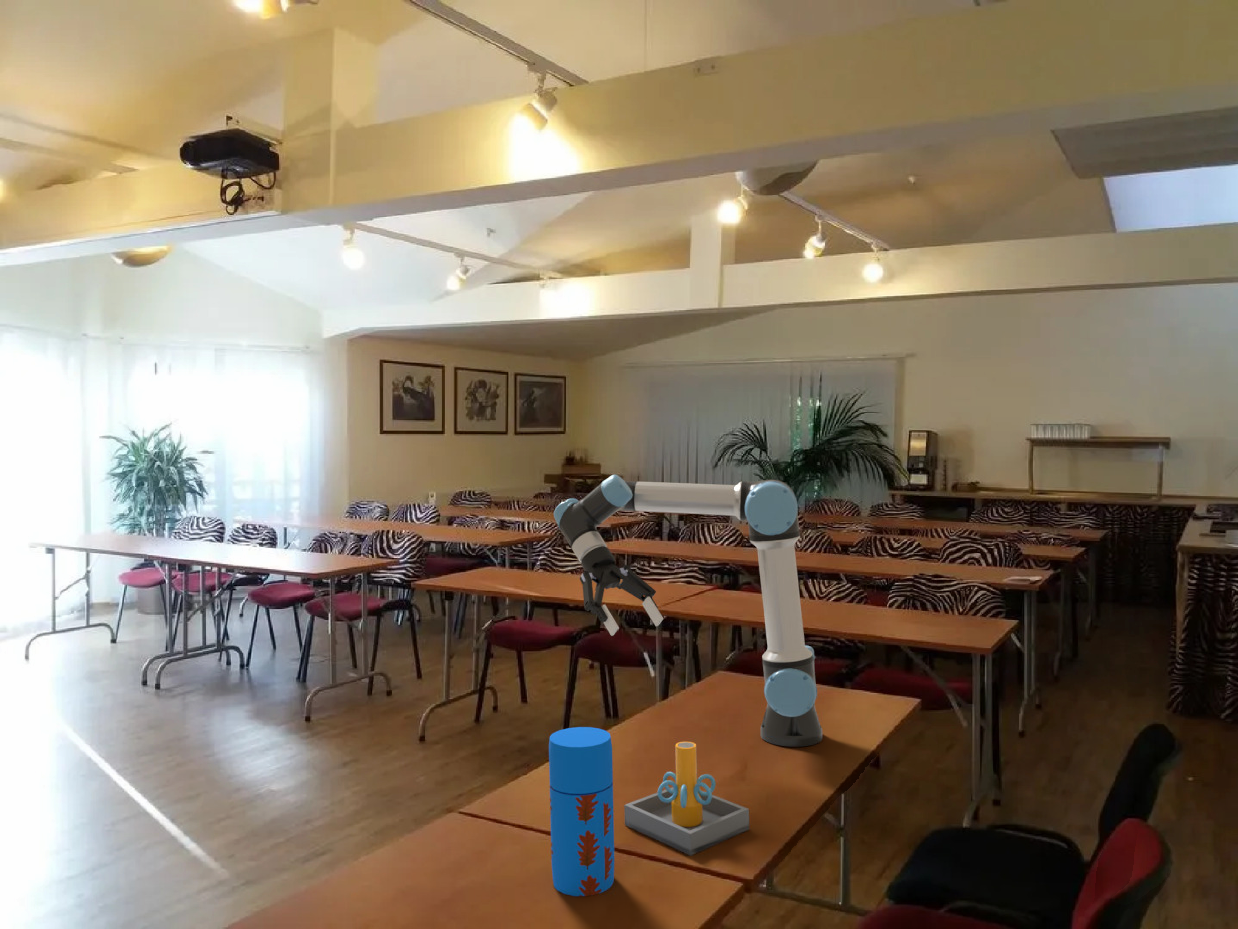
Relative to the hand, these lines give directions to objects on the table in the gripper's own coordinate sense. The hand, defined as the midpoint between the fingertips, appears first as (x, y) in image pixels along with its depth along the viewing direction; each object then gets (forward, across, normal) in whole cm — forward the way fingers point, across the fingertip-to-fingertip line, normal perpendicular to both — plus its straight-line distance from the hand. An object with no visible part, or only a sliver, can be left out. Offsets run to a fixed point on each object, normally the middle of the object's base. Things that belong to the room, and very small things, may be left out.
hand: (637, 627), depth 208 cm
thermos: (+45, +42, -1) cm, 62 cm away
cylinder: (+43, +14, -2) cm, 45 cm away
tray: (+43, +14, -3) cm, 46 cm away
